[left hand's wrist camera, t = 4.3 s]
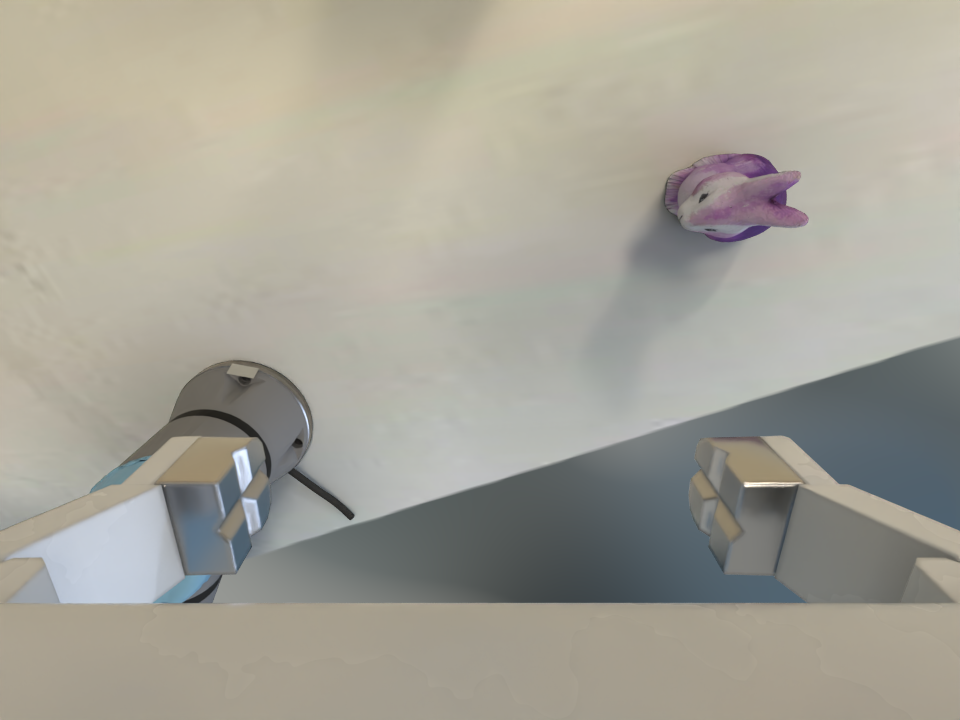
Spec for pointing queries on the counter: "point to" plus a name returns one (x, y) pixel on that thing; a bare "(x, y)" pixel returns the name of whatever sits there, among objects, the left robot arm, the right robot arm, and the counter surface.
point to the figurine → (732, 197)
